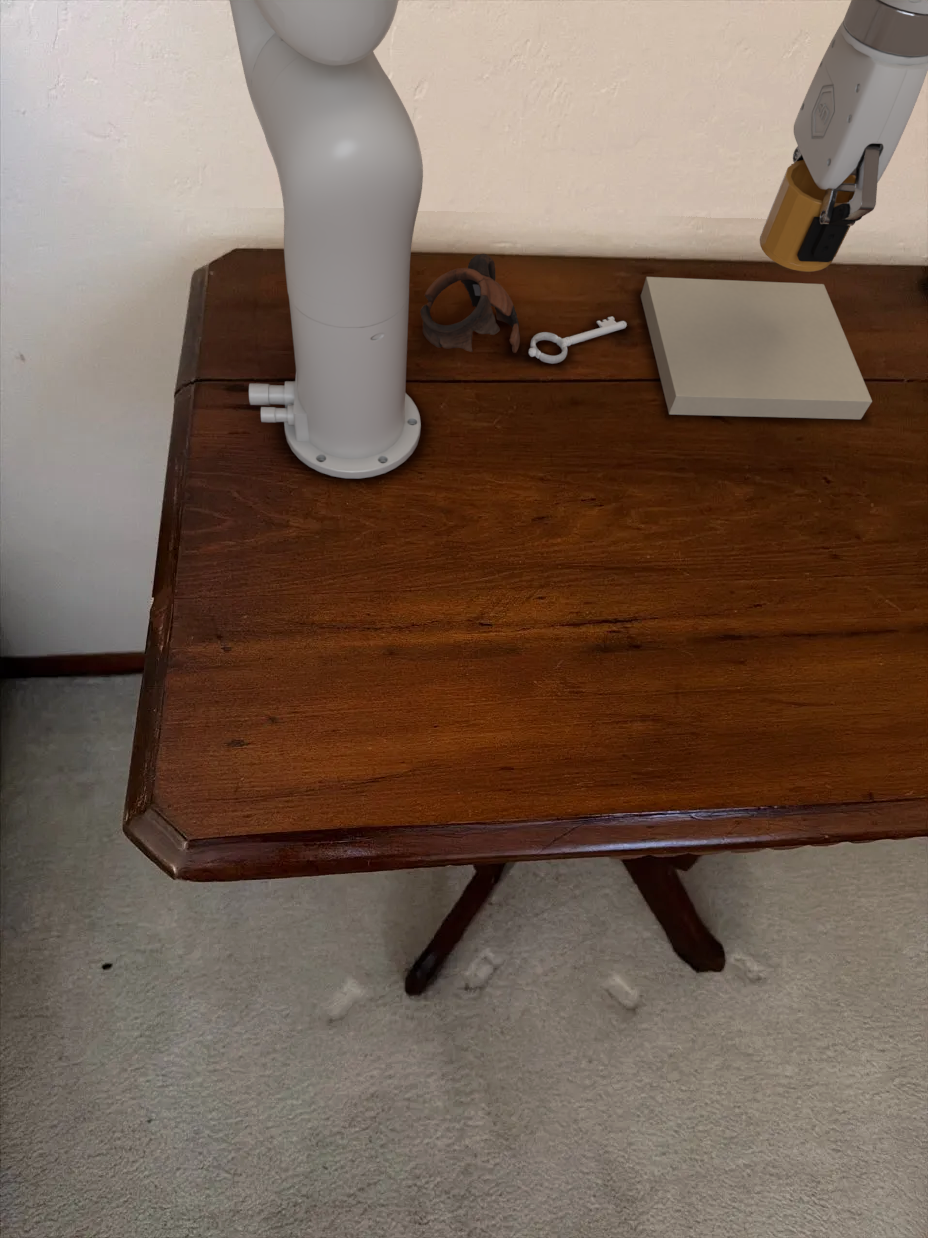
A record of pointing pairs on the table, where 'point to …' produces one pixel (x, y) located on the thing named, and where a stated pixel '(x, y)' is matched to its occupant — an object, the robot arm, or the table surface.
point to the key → (572, 339)
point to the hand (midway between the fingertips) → (803, 231)
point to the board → (751, 349)
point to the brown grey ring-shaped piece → (482, 297)
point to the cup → (795, 217)
